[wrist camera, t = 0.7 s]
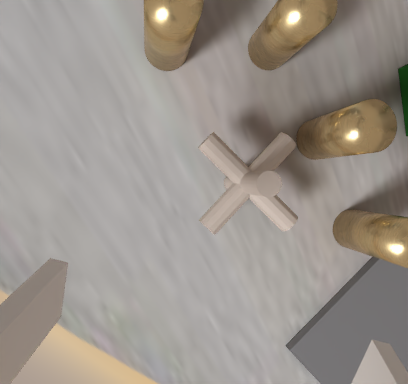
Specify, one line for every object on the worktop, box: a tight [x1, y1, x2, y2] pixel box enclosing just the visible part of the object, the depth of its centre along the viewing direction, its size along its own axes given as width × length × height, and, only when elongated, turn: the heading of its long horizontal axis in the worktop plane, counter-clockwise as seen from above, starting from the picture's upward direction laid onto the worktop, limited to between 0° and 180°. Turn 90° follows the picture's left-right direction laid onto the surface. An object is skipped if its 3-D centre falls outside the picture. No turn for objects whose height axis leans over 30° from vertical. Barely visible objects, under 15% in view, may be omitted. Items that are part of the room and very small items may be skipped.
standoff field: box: [144, 0, 408, 268], centre depth 30 cm, size 12×30×9 cm, turn 42°
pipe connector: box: [198, 132, 298, 235], centre depth 28 cm, size 10×10×10 cm
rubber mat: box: [286, 257, 408, 384], centre depth 36 cm, size 16×16×1 cm
